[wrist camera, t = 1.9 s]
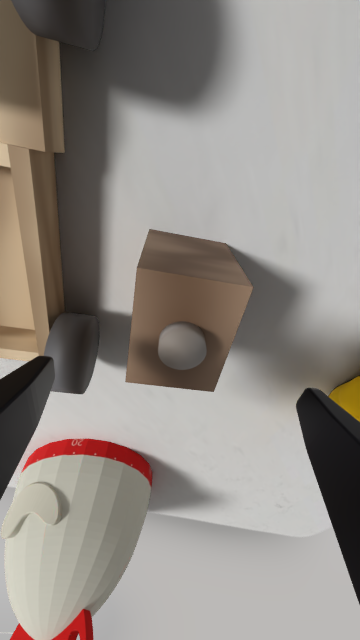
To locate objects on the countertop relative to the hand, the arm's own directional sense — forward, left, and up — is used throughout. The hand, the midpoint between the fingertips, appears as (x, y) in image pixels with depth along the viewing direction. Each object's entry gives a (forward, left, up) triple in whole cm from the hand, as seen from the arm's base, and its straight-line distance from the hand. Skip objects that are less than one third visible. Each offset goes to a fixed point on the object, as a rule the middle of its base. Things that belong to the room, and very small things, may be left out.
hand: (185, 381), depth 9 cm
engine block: (0, 0, -9) cm, 9 cm away
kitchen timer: (+6, +25, -9) cm, 27 cm away
